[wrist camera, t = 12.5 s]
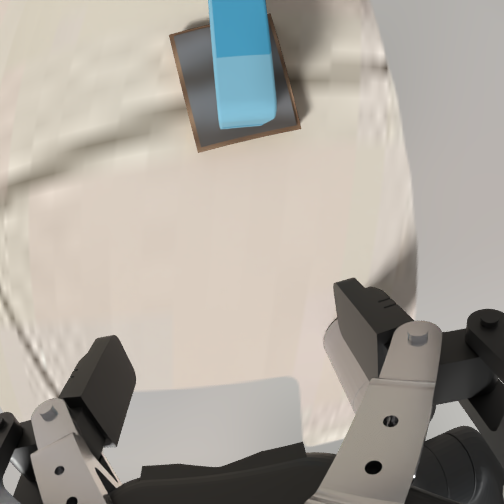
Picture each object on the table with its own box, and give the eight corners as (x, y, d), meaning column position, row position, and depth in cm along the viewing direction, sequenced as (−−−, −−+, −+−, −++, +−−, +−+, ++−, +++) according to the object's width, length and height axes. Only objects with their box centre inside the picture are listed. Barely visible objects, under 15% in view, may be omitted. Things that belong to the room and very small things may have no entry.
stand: (294, 130, 39) (302, 128, 35) (200, 152, 38) (197, 152, 35) (266, 23, 34) (270, 12, 30) (173, 43, 34) (168, 33, 30)
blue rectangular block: (260, 126, 34) (278, 117, 23) (220, 130, 34) (218, 122, 23) (251, 29, 30) (263, -17, 19) (211, 32, 30) (207, -13, 19)
